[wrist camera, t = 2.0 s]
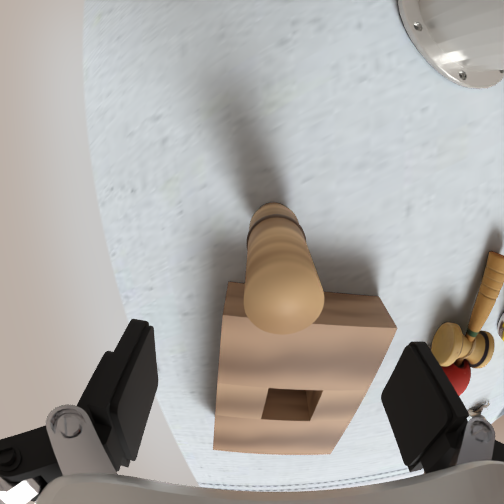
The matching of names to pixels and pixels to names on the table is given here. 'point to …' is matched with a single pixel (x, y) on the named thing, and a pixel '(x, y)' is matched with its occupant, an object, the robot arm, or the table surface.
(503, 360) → the table surface
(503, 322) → the supplement bottle
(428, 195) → the table surface
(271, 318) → the oak peg
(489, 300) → the kendama
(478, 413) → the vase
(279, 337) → the seat board
